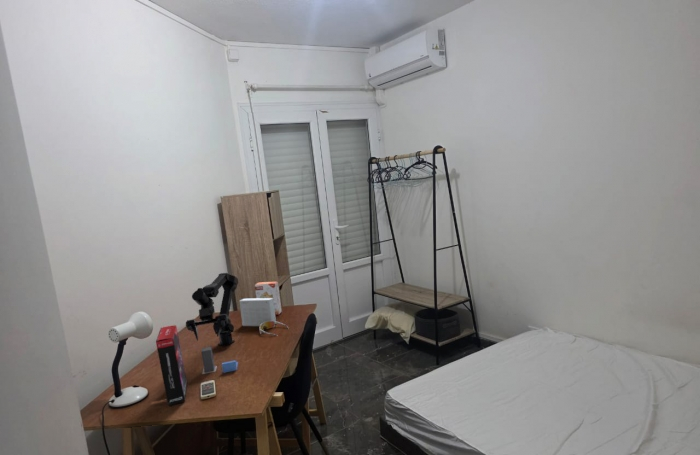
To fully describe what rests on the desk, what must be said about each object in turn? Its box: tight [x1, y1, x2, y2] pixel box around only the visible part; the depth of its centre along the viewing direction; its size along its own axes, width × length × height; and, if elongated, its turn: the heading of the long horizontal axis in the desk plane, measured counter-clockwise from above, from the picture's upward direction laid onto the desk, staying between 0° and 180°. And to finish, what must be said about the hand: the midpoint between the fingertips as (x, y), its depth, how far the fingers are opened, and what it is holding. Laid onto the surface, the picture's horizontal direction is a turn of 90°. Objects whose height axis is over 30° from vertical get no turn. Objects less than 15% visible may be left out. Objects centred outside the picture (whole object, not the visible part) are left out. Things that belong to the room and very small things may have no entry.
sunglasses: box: [258, 320, 290, 337], centre depth 229 cm, size 14×15×5 cm
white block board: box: [201, 359, 239, 375], centre depth 186 cm, size 20×13×5 cm, turn 103°
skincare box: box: [238, 297, 277, 327], centre depth 243 cm, size 21×6×16 cm, turn 71°
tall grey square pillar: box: [200, 346, 216, 373], centre depth 184 cm, size 4×4×10 cm
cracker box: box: [254, 281, 282, 316], centre depth 261 cm, size 14×6×21 cm, turn 81°
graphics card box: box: [155, 324, 188, 407], centre depth 165 cm, size 17×7×27 cm, turn 20°
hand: (207, 338), depth 191 cm, fingers open, 9 cm apart
